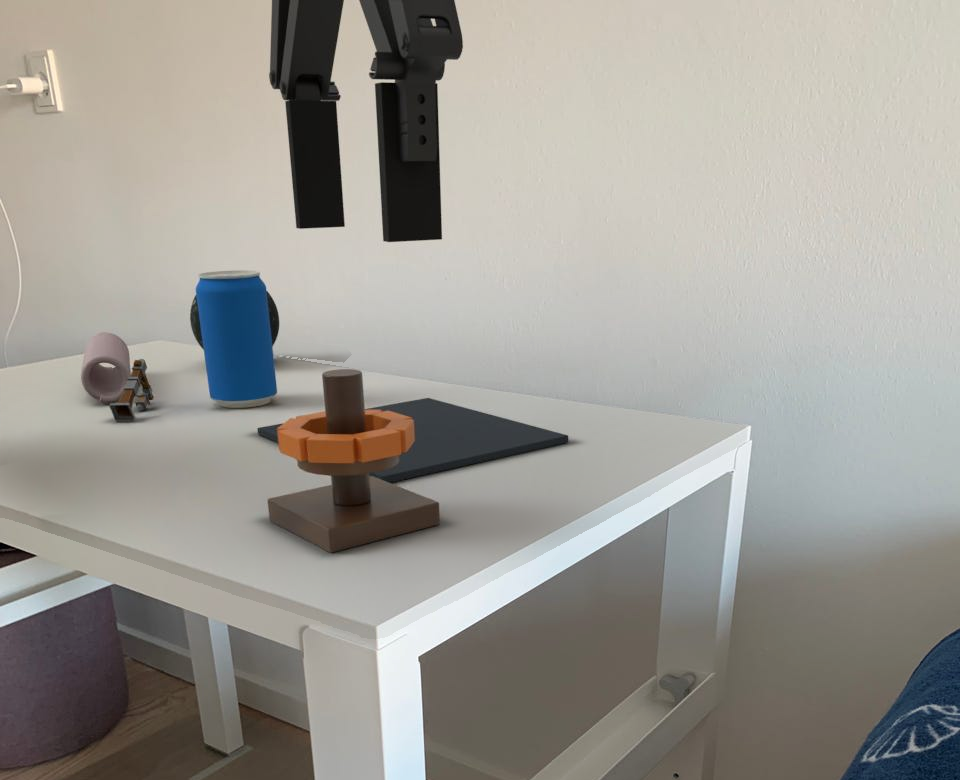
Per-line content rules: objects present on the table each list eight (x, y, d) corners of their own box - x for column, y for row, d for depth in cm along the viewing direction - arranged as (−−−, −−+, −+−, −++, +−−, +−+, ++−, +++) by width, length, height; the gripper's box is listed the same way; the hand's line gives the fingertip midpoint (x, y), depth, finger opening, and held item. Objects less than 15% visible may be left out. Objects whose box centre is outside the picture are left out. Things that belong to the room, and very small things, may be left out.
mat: (257, 434, 86) (256, 427, 86) (428, 403, 96) (428, 397, 96) (382, 484, 72) (381, 476, 72) (568, 442, 82) (568, 435, 82)
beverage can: (288, 403, 98) (275, 273, 93) (225, 412, 95) (208, 278, 89) (262, 392, 103) (248, 268, 97) (201, 401, 99) (183, 273, 94)
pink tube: (79, 335, 112) (74, 360, 96) (122, 327, 113) (123, 352, 97) (92, 377, 114) (88, 408, 98) (134, 369, 115) (137, 399, 100)
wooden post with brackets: (162, 391, 99) (149, 352, 96) (142, 442, 94) (127, 403, 91) (144, 392, 100) (130, 352, 96) (123, 443, 94) (108, 403, 91)
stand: (269, 520, 65) (251, 372, 61) (373, 496, 69) (363, 356, 65) (330, 553, 59) (316, 391, 55) (440, 524, 64) (434, 372, 60)
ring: (260, 444, 63) (257, 422, 62) (368, 424, 67) (367, 403, 67) (323, 471, 57) (321, 447, 57) (437, 447, 62) (436, 424, 61)
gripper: (548, -406, 35) (541, 243, 44) (320, -195, 55) (348, 221, 64) (345, -455, 32) (383, 252, 41) (182, -213, 52) (232, 225, 61)
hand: (362, 234), depth 53 cm, fingers open, 13 cm apart
